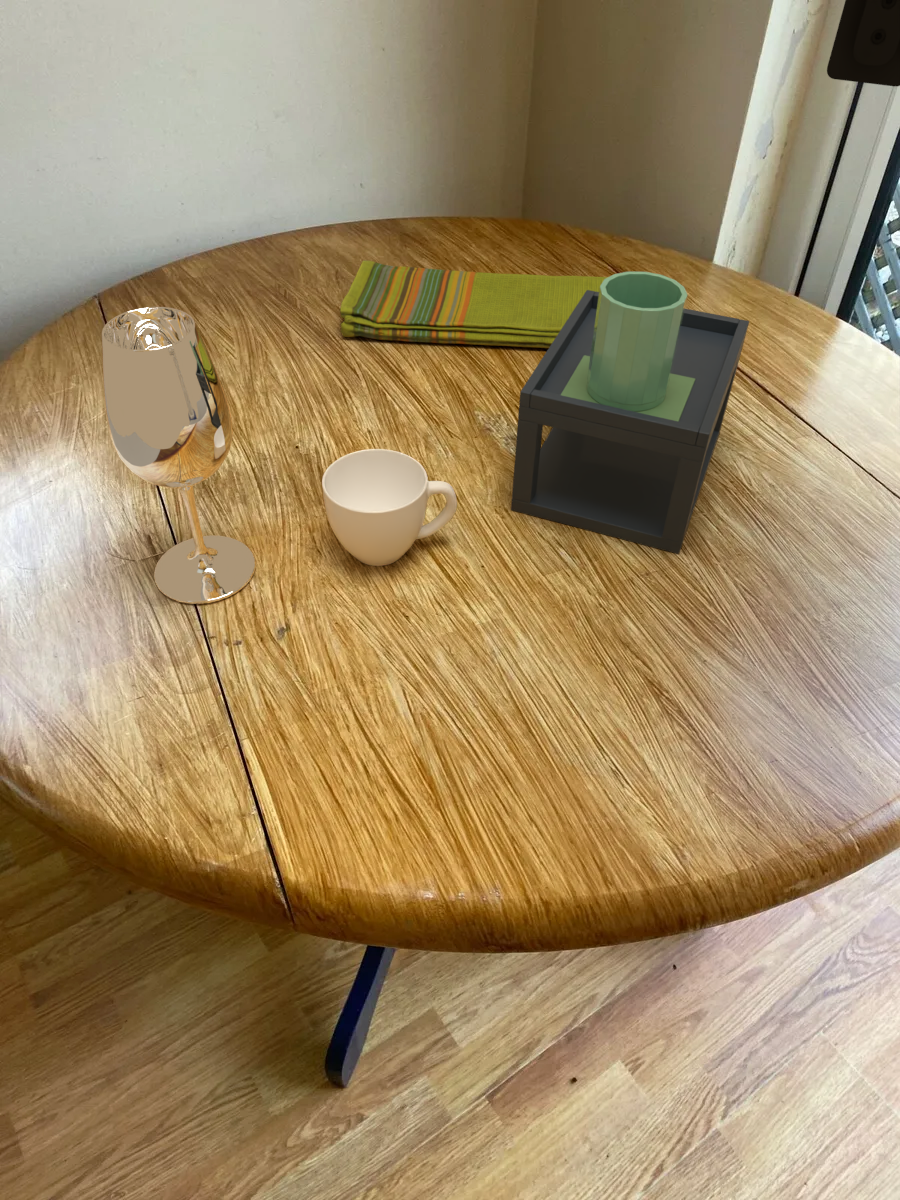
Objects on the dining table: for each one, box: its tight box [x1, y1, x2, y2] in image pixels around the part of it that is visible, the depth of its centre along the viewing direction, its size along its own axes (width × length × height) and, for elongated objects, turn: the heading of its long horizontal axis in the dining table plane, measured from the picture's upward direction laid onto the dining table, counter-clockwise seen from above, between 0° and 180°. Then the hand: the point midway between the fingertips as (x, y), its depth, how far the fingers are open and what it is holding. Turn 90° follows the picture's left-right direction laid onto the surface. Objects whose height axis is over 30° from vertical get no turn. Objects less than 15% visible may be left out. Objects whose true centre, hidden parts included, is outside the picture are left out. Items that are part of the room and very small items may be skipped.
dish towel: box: [339, 260, 609, 349], centre depth 98 cm, size 15×36×3 cm, turn 85°
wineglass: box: [101, 306, 257, 605], centre depth 62 cm, size 8×8×20 cm
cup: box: [321, 448, 458, 567], centre depth 69 cm, size 8×10×7 cm
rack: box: [510, 290, 750, 555], centre depth 75 cm, size 14×18×11 cm
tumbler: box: [587, 271, 688, 411], centre depth 66 cm, size 6×6×8 cm
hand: (872, 52), depth 41 cm, fingers open, 9 cm apart
